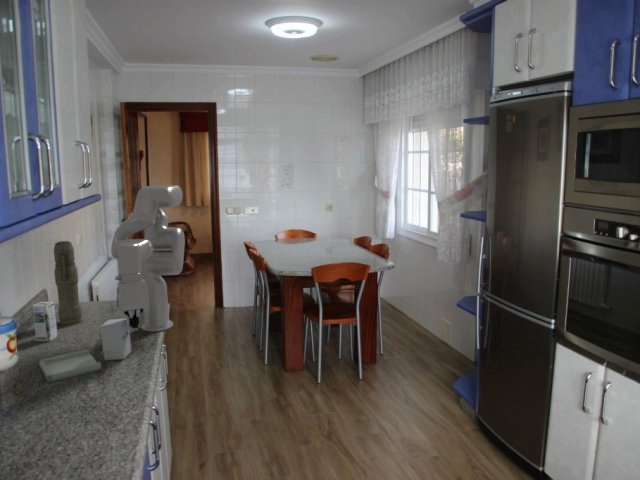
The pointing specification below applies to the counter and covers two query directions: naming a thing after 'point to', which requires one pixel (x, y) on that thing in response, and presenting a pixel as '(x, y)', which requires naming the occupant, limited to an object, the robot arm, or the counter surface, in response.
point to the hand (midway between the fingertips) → (134, 327)
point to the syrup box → (45, 321)
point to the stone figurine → (67, 284)
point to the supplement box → (115, 339)
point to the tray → (68, 365)
